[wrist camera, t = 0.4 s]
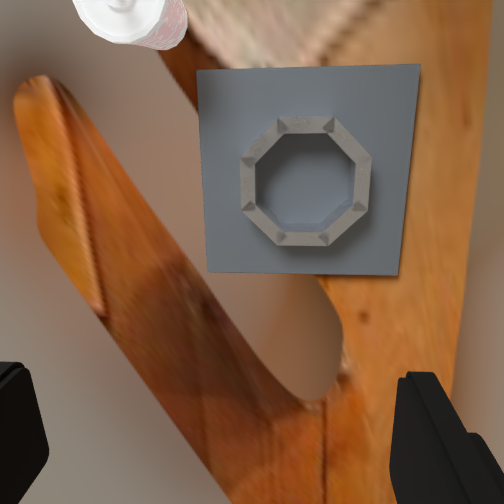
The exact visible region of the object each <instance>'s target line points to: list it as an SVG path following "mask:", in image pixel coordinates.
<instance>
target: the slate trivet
mask: <svg viewBox="0 0 504 504" xmlns="http://www.w3.org/2000/svg"><path fill="white" fill-rule="evenodd" d="M420 66H421V64H400V65H363V66H326V67H289V68H251V69H214V70H196V78H197V96H198V114H199V132H200V149H201V166H202V185H203V201H204V219H205V237H206V255H207V271H208V272H227V273H228V272H229V273H230V272H231V273H285V274H286V273H287V274H343V275H398V267H399V258H400V249H401V239H402V230H403V221H404V212H405V203H406V194H407V185H408V176H409V167H410V157H411V148H412V139H413V130H414V121H415V112H416V103H417V94H418V85H419V75H420ZM315 116H334V117H335V118H336V119H337V120H338V121H339V122H340V123H341V124H342V125H343V126H344V128H345V129H346V130H347V131H348V132H349V133H350V134H351V135H352V136H353V137H354V138H355V139H356V140H357V142H358V143H359V144H360V145H361V146H362V147H363V148H364V149H365V150H366V151H367V152H368V153H369V155H370V156H372V162H371V174H370V187H369V200H368V212H366V213H365V214H364V215H363V216H361V217H360V218H359V219H358V220H357V221H356V222H355V223H353V224H352V225H351V226H350V227H349V228H348V229H347V230H346V231H344V232H343V233H342V234H341V235H340V236H339V237H338V238H337V239H335V240H334V241H333V242H332V243H331V244H330V245H329V246H285V245H278V246H277V245H276V244H275V243H274V242H273V241H272V240H271V239H270V238H269V237H268V236H267V235H266V234H265V233H264V232H263V231H262V230H261V229H260V228H259V227H258V226H257V225H256V224H255V223H253V222H252V221H251V220H250V219H249V218H248V217H247V216H246V215H245V214H244V213H243V212H242V211H241V189H240V159H239V158H240V157H241V156H242V155H243V154H244V153H245V152H246V151H247V150H248V149H249V148H250V147H251V146H252V144H253V143H254V142H255V141H256V140H257V139H258V138H259V137H260V136H261V135H262V134H263V133H264V132H265V131H266V130H267V128H268V127H269V126H270V125H271V124H272V123H273V122H274V121H275V120H276V119H277V117H315ZM257 169H258V198H259V199H260V200H261V201H262V202H263V203H264V204H265V205H266V206H267V207H268V208H269V209H270V210H271V211H272V212H273V213H274V214H275V215H276V216H277V217H278V218H279V219H280V220H281V221H282V222H283V223H321V222H322V221H323V220H324V219H325V218H326V217H327V216H328V215H330V214H331V213H332V212H333V211H334V210H335V209H336V208H337V207H338V206H339V205H340V204H342V203H343V202H344V201H345V200H346V199H347V198H348V189H349V173H350V159H349V157H348V156H347V155H346V154H345V153H344V152H343V151H342V150H341V149H340V148H339V147H338V146H337V145H336V144H335V143H334V142H333V141H332V139H331V138H330V137H329V136H328V135H327V134H326V133H292V134H283V135H282V136H281V137H280V138H279V139H278V140H277V142H276V143H275V144H274V145H273V146H272V147H271V148H270V149H269V150H268V151H267V152H266V153H265V154H264V155H263V156H262V157H261V158H260V159H259V160H258V161H257Z"/></svg>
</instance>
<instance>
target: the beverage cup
mask: <svg viewBox="0 0 504 504" xmlns="http://www.w3.org/2000/svg"><path fill="white" fill-rule="evenodd" d="M73 2H74V5H75V7H76V9H77V12H78V14H79V16H80V18H81V20H82V21H83V22H84V23H85V24H86V25H87V26H88V27H89V28H90V29H91V30H92V32H93V33H94V34H96V35H98V36H100V37H102V38H105V39H106V40H108V41H110V42H113V43H116V44H137V45H140V46H144V47H148V48H152V49H156V50H168V49H170V48H173V47H175V46H177V44H178V43H179V42H180V41H181V40H182V39H183V38H184V35H185V32H186V29H187V12H186V9H185V6H184V4H183V2H182V0H73Z"/></svg>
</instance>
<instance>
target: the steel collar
mask: <svg viewBox="0 0 504 504" xmlns="http://www.w3.org/2000/svg"><path fill="white" fill-rule="evenodd" d="M292 133H326V134H327V135H328V136H329V137H330V138H331V139H332V141H333V142H334V143H335V144H336V145H337V146H338V147H339V148H340V149H341V150H342V151H343V152H344V153H345V154H346V155H347V156H348V157H349V159H350V173H349V189H348V198H347V199H346V200H345V201H344V202H343V203H342V204H340V205H339V206H338V207H337V208H336V209H335V210H334V211H333V212H332V213H331V214H330V215H328V216H327V217H326V218H325V219H324V220H323V221H322V222H321V223H283V222H282V221H281V220H280V219H279V218H278V217H277V216H276V215H275V214H274V213H273V212H272V211H271V210H270V209H269V208H268V207H267V206H266V205H265V204H264V203H263V202H262V201H261V200H260V199H259V198H258V169H257V161H258V160H259V159H260V158H261V157H262V156H263V155H264V154H265V153H266V152H267V151H268V150H269V149H270V148H271V147H272V146H273V145H274V144H275V143H276V142H277V140H278V139H279V138H280V137H281V136H282V135H283V134H292ZM239 159H240V189H241V211H242V212H243V213H244V214H245V215H246V216H247V217H248V218H249V219H250V220H251V221H252V222H253V223H255V224H256V225H257V226H258V227H259V228H260V229H261V230H262V231H263V232H264V233H265V234H266V235H267V236H268V237H269V238H270V239H271V240H272V241H273V242H274V243H275V244H276V245H277V246H278V245H285V246H329V245H330V244H331V243H332V242H333V241H334V240H335V239H337V238H338V237H339V236H340V235H341V234H342V233H343V232H344V231H346V230H347V229H348V228H349V227H350V226H351V225H352V224H353V223H355V222H356V221H357V220H358V219H359V218H360V217H361V216H363V215H364V214H365V213H366V212H368V200H369V187H370V174H371V162H372V156H370V155H369V153H368V152H367V151H366V150H365V149H364V148H363V147H362V146H361V145H360V144H359V143H358V142H357V140H356V139H355V138H354V137H353V136H352V135H351V134H350V133H349V132H348V131H347V130H346V129H345V128H344V126H343V125H342V124H341V123H340V122H339V121H338V120H337V119H336V118H335V117H334V116H315V117H277V119H276V120H275V121H274V122H273V123H272V124H271V125H270V126H269V127H268V128H267V130H266V131H265V132H264V133H263V134H262V135H261V136H260V137H259V138H258V139H257V140H256V141H255V142H254V143H253V144H252V146H251V147H250V148H249V149H248V150H247V151H246V152H245V153H244V154H243V155H242V156H241V157H240V158H239Z"/></svg>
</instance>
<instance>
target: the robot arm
mask: <svg viewBox="0 0 504 504" xmlns="http://www.w3.org/2000/svg"><path fill="white" fill-rule="evenodd" d="M48 456H49V446H48V442H47V438H46V434H45V430H44V426H43V422H42V418H41V414H40V410H39V407H38V403H37V398H36V394H35V390H34V386H33V382H32V379H31V374H30V372H29V370H28V369H27V368H25V367H24V365H23V364H22V363H20V362H0V504H18V503H19V502H20V500H21V499H22V497H23V496H24V494H25V493H26V492H27V490H28V489H29V487H30V486H31V484H32V483H33V482H34V480H35V479H36V477H37V476H38V474H39V473H40V471H41V470H42V468H43V467H44V466H45V464H46V462H47V459H48ZM389 469H390V478H391V482H392V486H393V489H394V493H395V497H396V500H397V504H504V473H503V472H502V470H501V468H500V466H499V465H498V463H497V461H496V459H495V458H494V456H493V454H492V453H491V451H490V450H489V448H488V446H487V444H486V443H485V441H484V440H483V439H482V437H481V436H480V435H479V434H477V433H467V431H466V429H465V428H464V426H463V424H462V422H461V420H460V418H459V417H458V415H457V413H456V411H455V409H454V408H453V406H452V404H451V402H450V400H449V398H448V397H447V395H446V393H445V391H444V389H443V388H442V386H441V384H440V382H439V380H438V379H437V377H436V375H435V374H434V373H433V372H410V371H409V372H407V374H406V378H399V380H398V385H397V395H396V405H395V415H394V424H393V434H392V444H391V453H390V464H389Z"/></svg>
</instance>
